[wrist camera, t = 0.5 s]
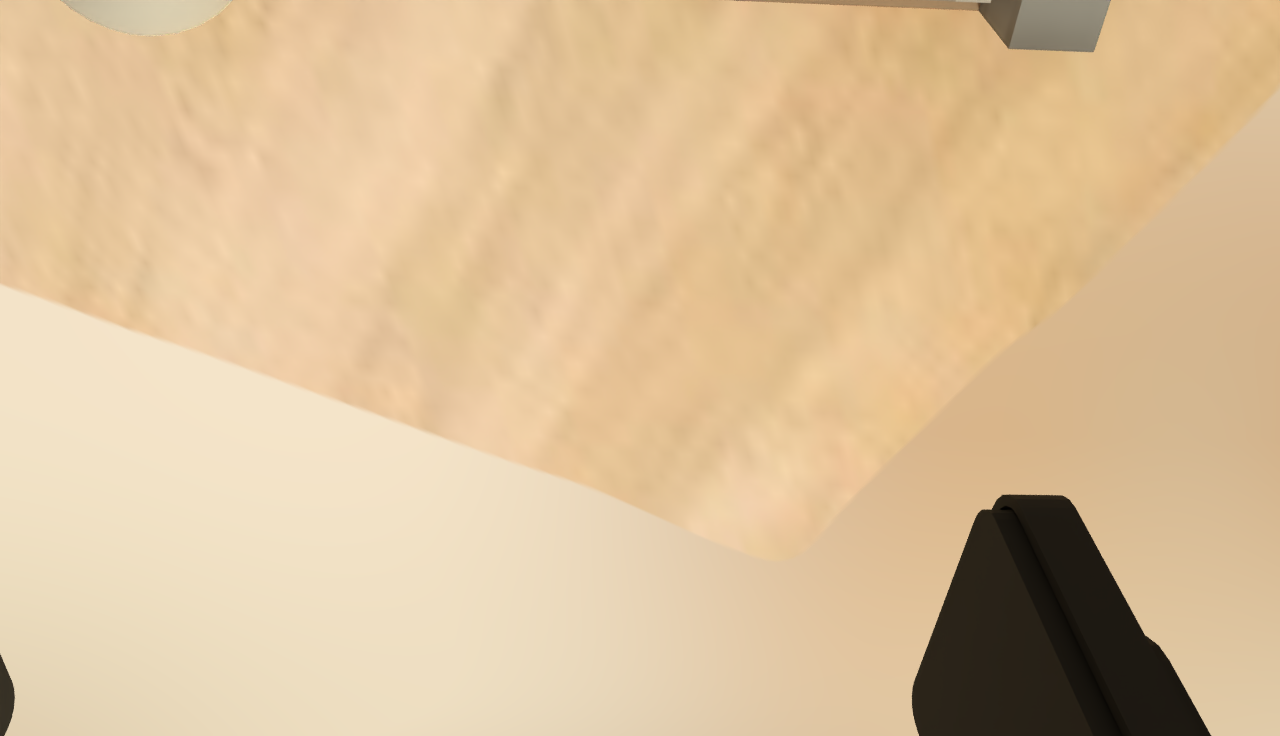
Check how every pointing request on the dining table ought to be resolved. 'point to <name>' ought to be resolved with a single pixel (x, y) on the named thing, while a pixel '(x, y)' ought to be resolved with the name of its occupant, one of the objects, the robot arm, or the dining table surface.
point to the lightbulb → (148, 14)
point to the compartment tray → (1016, 19)
